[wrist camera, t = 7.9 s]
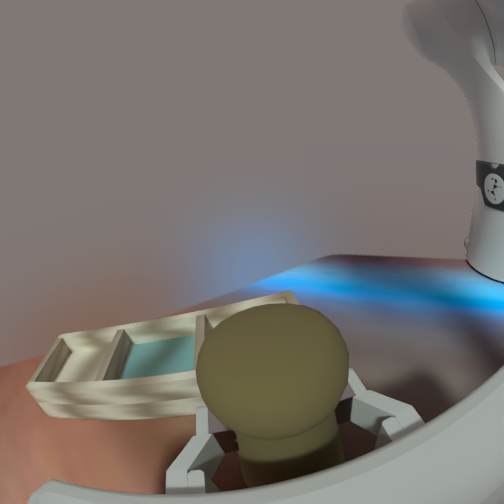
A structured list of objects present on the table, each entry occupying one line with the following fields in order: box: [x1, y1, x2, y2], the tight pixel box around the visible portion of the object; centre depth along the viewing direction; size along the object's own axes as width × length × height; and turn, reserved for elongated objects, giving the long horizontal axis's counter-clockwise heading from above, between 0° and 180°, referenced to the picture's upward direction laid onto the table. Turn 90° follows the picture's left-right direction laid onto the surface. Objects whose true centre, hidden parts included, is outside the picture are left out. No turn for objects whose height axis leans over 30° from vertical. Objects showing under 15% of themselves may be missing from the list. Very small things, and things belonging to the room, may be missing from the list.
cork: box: [196, 303, 349, 488], centre depth 10 cm, size 6×6×11 cm
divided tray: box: [26, 290, 299, 420], centre depth 22 cm, size 26×9×4 cm, turn 98°
